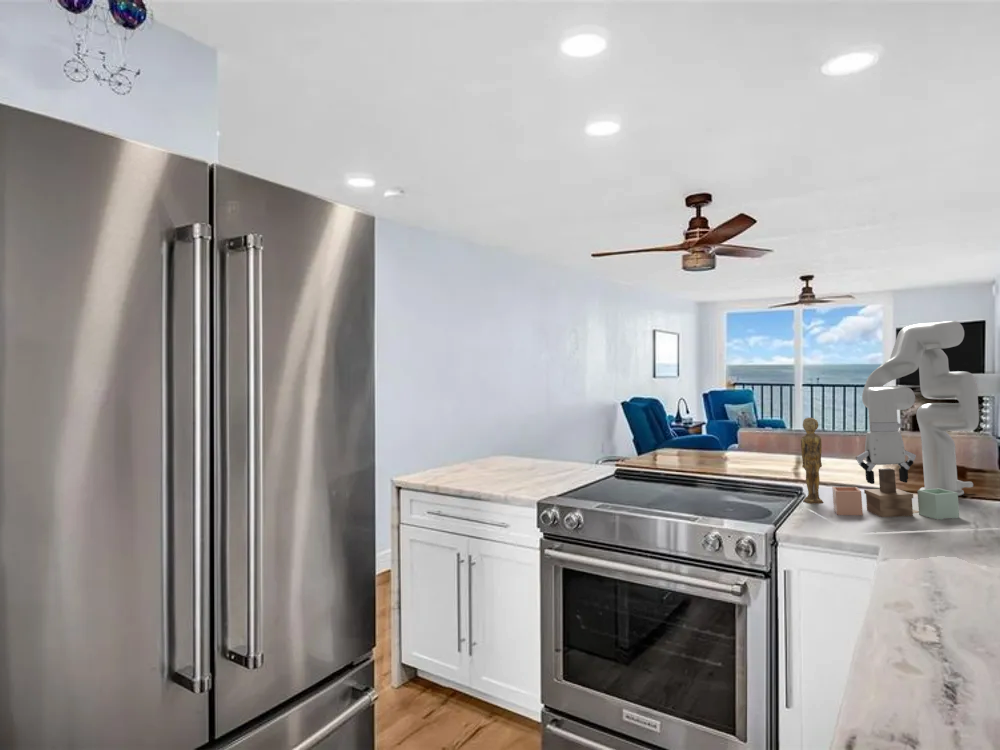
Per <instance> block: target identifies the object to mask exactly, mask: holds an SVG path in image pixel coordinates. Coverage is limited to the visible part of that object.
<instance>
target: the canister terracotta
mask: <svg viewBox="0 0 1000 750" xmlns="http://www.w3.org/2000/svg"><path fill="white" fill-rule="evenodd" d="M832 500H833V501H832V504H833V511H834V512H835V513H836V515H837V516H839V515H840V516H863V515H864V514H863V511H864V510H863V501H862V500H863V498H862V490H860V488H859V487H857V486H832Z"/></svg>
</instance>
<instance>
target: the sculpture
mask: <svg viewBox="0 0 1000 750" xmlns="http://www.w3.org/2000/svg"><path fill="white" fill-rule="evenodd" d="M802 428H803V430H805V433H806V434H805V435H803V436H801V439H800V448H801V459H802V466H801V467H802V468H803V469H804V470H805V483H806V486H807V487H806V488H807V492H808V493H807V496H805V498H804V499H803V500H802V502H803V503H805V504H809V505H810V504H815V505H816V504H824V501H823V500H822V499H821V497H820V494H819V488H820V469H821V468H822V466H823V464H822V446H823V444H822V437H821V436H820V435H818V434H816V433H815V432H816V431H817V430H818V428H819V422H818V420H817V419H816V418H813V417H806V418H804V419H803V422H802Z"/></svg>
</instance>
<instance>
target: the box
mask: <svg viewBox="0 0 1000 750" xmlns="http://www.w3.org/2000/svg"><path fill="white" fill-rule="evenodd" d="M865 502H866V511H867V512H869V513H872V514H873V515H877V516H878V517H881V518H890V517H891V518H893V517H896V518H897V517H914V513H913V510H914V509H913V498H905V499H882V500H880V499H877V498H875V497H872V496H870V495H867V494H865Z"/></svg>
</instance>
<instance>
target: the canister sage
mask: <svg viewBox="0 0 1000 750" xmlns="http://www.w3.org/2000/svg"><path fill="white" fill-rule="evenodd" d="M916 492H917V503H918V504H917V505H918V511H919V513H918V515H920V516H923V517H927V518H929V519H933V518H934V519H933V520H936V519H940V520H944V519H943V518H952V519H959V518H960V508H959V496H958V493H957V492H953V491H948V490H944V489H939V488H938V489H926V490H920V489H917V491H916Z"/></svg>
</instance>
